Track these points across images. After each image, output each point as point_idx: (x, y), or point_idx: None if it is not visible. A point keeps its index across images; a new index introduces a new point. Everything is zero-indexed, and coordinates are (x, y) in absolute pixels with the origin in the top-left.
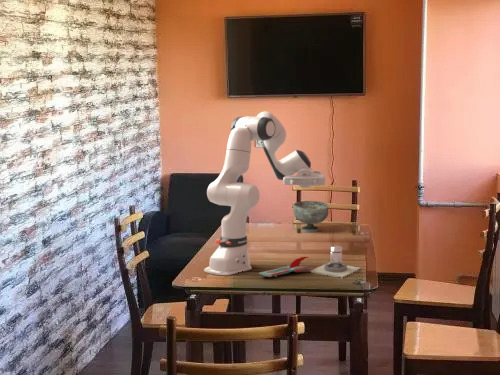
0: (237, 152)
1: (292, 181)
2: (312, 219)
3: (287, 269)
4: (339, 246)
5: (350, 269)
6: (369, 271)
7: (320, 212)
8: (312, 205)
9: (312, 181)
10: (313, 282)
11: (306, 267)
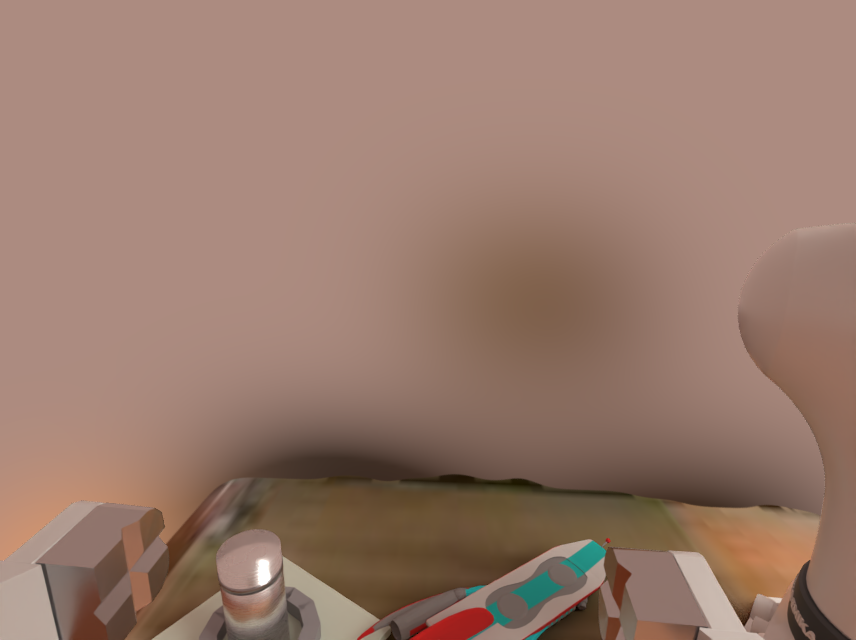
0: None
1: (681, 551)
2: None
3: (500, 596)
4: (226, 559)
5: (190, 635)
6: None
7: None
8: None
9: (142, 507)
10: (395, 525)
11: (411, 608)
